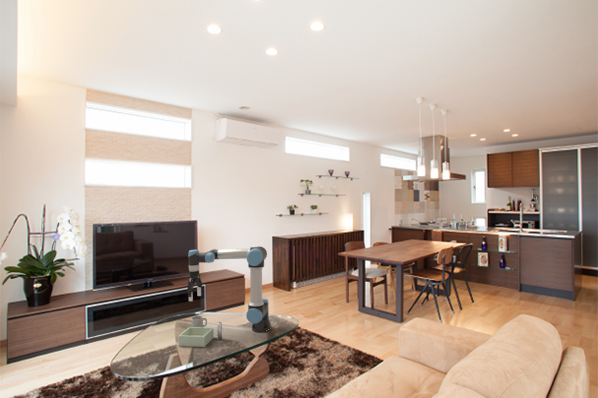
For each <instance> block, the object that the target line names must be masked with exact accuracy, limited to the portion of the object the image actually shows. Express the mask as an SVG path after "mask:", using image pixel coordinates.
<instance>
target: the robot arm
mask: <svg viewBox="0 0 598 398" xmlns="http://www.w3.org/2000/svg"><path fill="white" fill-rule="evenodd" d="M267 256H268V252H267V250H266V248H265V247H263V246H252V247H251V246H250V247H249V248H236V249H235V248H232V249H230V248H229V249H216V248H214V249H213V248H212V249H211V250H209V251H206V252H200V251H199V249H190V250H189V251H188V271H189V272H188V275H189V277H190V278H188V281H187V282H188V283H187V288H186V293H187V294H188V302H194V301H193V300H194V299H193V298H194V297H193V293H194V292H193V289H194V287H195V285H196V286H197V287H196V289H197V290H196V292H197V297H201V296H202V288H203V282H202V279H201V274H200V263H203V264H205V263H206V264H207V263H208V264H210V263H214V262H215V260H240V259H243V260H246V262H247V264H248V265H247V266H248V268H249V270H250V273H249V274H250V277H249V278H250V280H249V281H250V282H249V285H250V287H249V290H250V291H249V292H250V294H249V295H250V296H249V297H250V300H249V302H247V303H248V304H247V307H248V308H247V312H246V316H245V317H246V320H248V322H249V323H250V324H251V331H252V332H255V333H264V332H263V331H266V330H268V329H270V328H271V329H272V323H271V321H270V316H269V313H270V312H269V299H268V298H265V297H264V298H263V268H265V260H266V258H267ZM271 329H270V330H271ZM266 332H267V331H266Z"/></svg>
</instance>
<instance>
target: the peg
mask: <svg viewBox="0 0 598 398" xmlns="http://www.w3.org/2000/svg"><path fill="white" fill-rule="evenodd" d="M216 325H217V327H216V328H217V329H216V330H217V341H222V340H223V323H222V321H218V322H216Z"/></svg>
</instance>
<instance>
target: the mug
mask: <svg viewBox="0 0 598 398" xmlns="http://www.w3.org/2000/svg"><path fill="white" fill-rule="evenodd" d="M190 319H191V321H190V322H191V326H190V327H204V328H206V326H207V325H208V324H207V323H208V319H207V318H206V317H203V315H195V316H192V317H191V318H190ZM204 321H205V323H204Z"/></svg>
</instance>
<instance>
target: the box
mask: <svg viewBox="0 0 598 398" xmlns="http://www.w3.org/2000/svg"><path fill="white" fill-rule="evenodd" d="M214 330H215V328H214V327H192V326H189V327H188V328H187V329H185V330H184V331H182V332H181V333H179V335H178V337H177V338H178V347H197V348H198V347H199V348H205V347H206V346H207V345H208V344H209V343H210V342H211V341H212V340H213V339H214V338H215V332H214Z"/></svg>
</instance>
